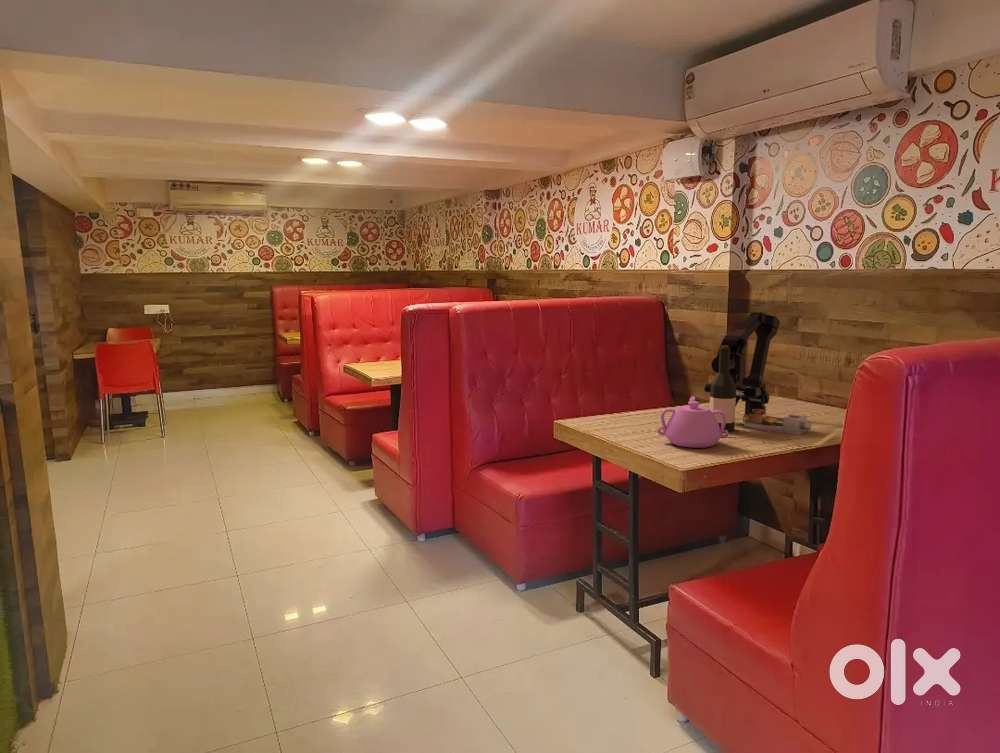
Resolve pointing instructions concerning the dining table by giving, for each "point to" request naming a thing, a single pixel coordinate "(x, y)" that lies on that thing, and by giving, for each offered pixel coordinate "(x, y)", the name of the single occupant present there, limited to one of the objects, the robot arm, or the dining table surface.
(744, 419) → the valve
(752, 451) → the dining table surface
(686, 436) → the purple lidded pot
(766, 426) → the grey metal channel
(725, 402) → the wine bottle
